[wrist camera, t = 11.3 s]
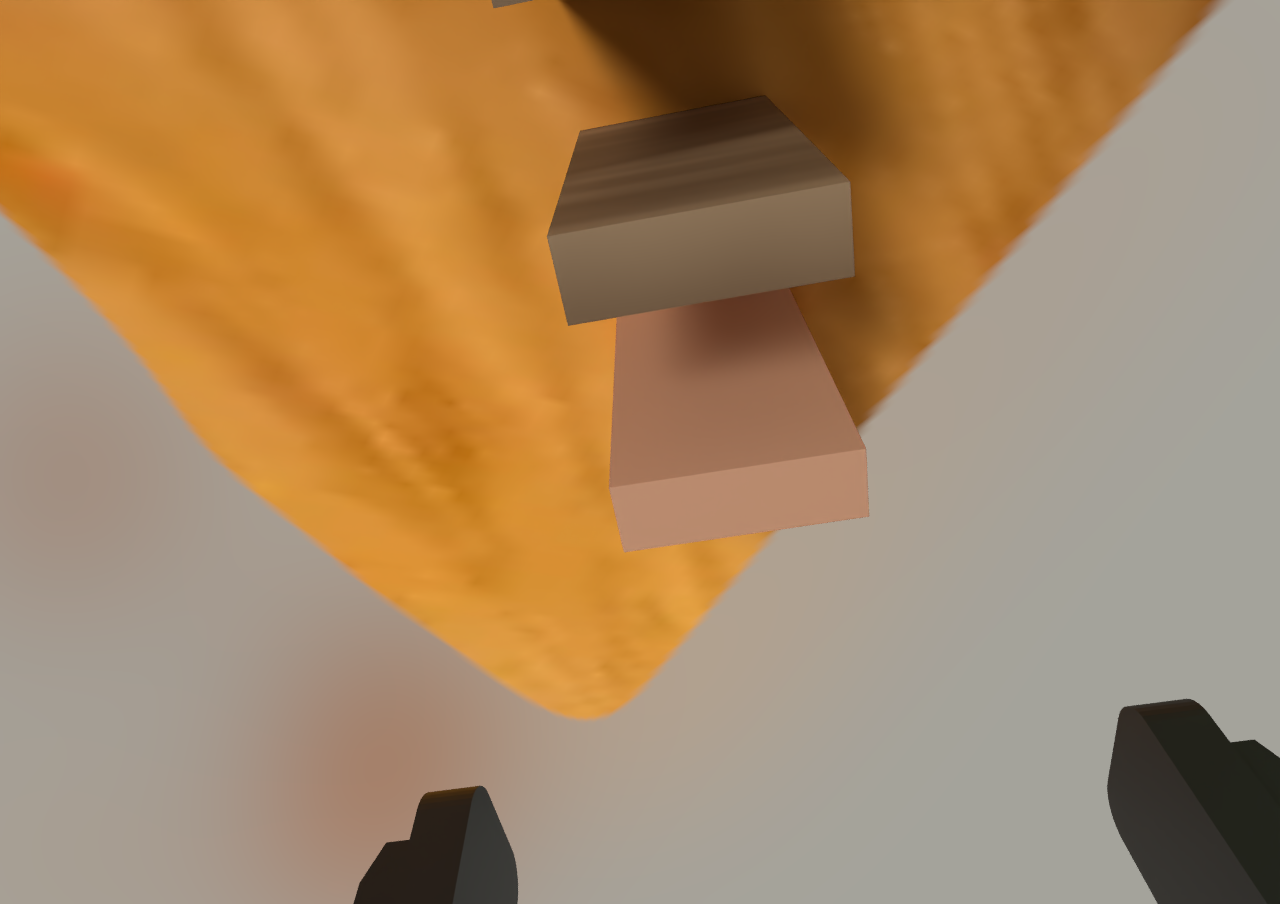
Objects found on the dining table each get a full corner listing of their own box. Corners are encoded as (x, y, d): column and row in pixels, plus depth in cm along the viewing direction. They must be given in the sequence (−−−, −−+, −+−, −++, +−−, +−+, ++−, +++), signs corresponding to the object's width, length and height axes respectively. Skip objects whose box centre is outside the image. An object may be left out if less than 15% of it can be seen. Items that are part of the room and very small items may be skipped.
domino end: (617, 306, 25) (609, 488, 16) (784, 277, 25) (866, 448, 16) (627, 354, 26) (623, 552, 17) (789, 327, 25) (869, 516, 17)
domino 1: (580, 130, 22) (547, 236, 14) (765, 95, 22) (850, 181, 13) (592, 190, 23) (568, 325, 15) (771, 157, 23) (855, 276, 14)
